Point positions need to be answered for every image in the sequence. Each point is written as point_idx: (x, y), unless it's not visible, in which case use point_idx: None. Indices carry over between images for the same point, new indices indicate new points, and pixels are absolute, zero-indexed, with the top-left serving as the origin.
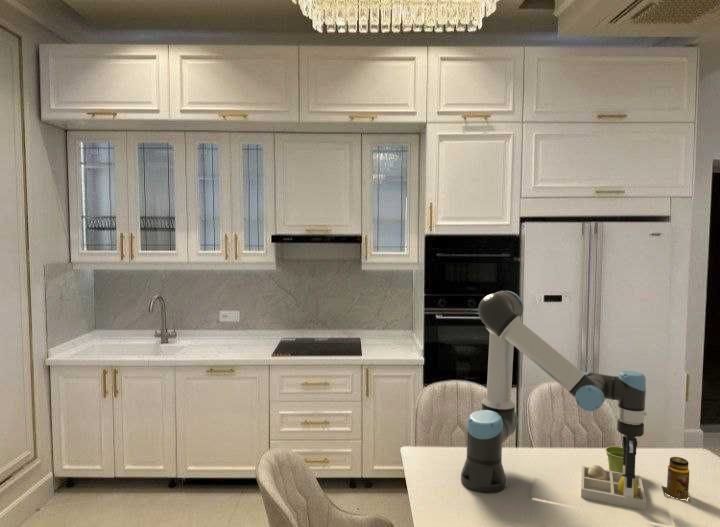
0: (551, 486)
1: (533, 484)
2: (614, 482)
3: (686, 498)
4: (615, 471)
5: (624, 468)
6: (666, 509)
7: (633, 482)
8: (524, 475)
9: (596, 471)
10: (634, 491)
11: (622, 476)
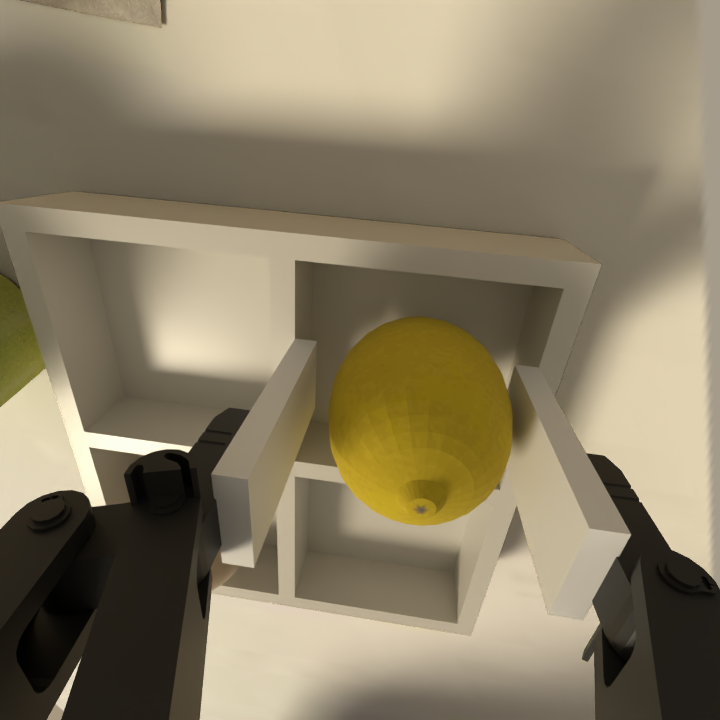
0: (358, 645)
1: (368, 691)
2: None
3: None
4: (14, 381)
5: (259, 533)
6: (455, 11)
7: (596, 480)
8: (294, 701)
9: (222, 575)
10: (501, 373)
11: (80, 351)
